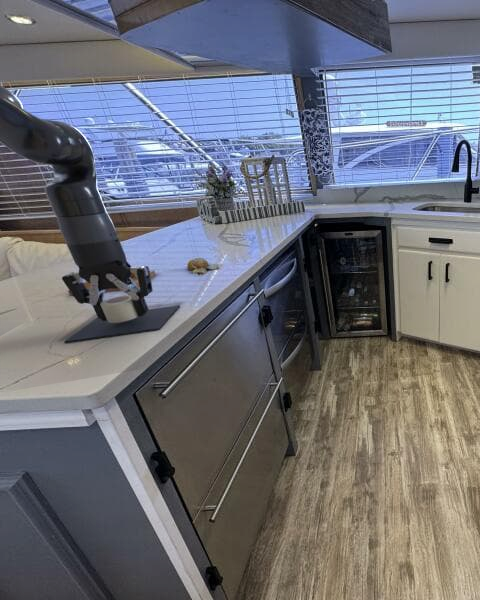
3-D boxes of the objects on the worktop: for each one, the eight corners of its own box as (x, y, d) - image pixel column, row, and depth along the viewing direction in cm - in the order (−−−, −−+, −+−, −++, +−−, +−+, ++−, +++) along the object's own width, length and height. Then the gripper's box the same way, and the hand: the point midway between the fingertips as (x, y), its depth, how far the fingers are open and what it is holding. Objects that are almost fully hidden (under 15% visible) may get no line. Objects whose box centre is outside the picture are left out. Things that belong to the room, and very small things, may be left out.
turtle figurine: (198, 275, 97) (195, 263, 96) (180, 273, 100) (177, 261, 99) (222, 267, 104) (219, 256, 103) (204, 265, 107) (201, 254, 106)
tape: (101, 325, 65) (93, 306, 63) (116, 313, 70) (109, 296, 68) (134, 320, 66) (127, 302, 64) (147, 309, 71) (140, 292, 70)
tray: (71, 298, 84) (67, 290, 83) (97, 283, 94) (94, 276, 94) (138, 290, 87) (135, 283, 86) (156, 276, 98) (154, 270, 97)
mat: (64, 343, 61) (63, 341, 61) (100, 316, 72) (99, 315, 72) (159, 329, 65) (158, 328, 65) (180, 306, 76) (179, 305, 75)
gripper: (31, 246, 56) (73, 330, 63) (126, 238, 59) (156, 319, 66) (60, 237, 63) (95, 314, 70) (144, 231, 66) (170, 305, 73)
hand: (125, 316), depth 68 cm, fingers closed on tape, 6 cm apart
